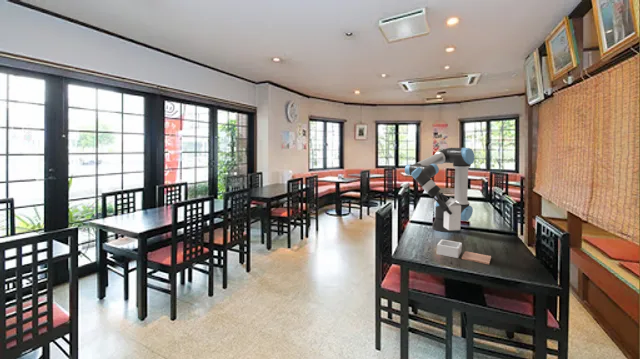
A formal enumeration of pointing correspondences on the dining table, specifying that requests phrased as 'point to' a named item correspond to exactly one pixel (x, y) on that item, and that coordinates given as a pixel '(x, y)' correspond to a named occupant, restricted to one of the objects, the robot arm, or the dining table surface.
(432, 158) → the robot arm
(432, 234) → the dining table surface
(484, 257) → the terracotta tile
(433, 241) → the dining table surface
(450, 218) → the milk carton
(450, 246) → the white open box
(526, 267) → the dining table surface
